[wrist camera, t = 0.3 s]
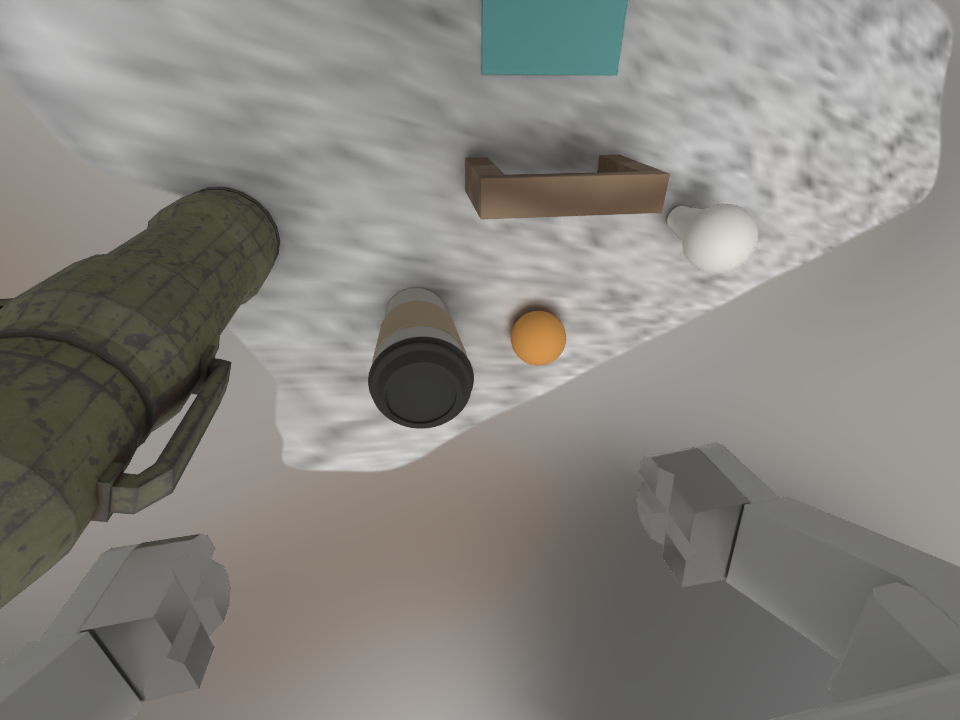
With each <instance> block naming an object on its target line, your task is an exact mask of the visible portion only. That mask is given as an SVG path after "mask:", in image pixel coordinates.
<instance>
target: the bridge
mask: <svg viewBox="0 0 960 720" xmlns="http://www.w3.org/2000/svg"><path fill="white" fill-rule="evenodd" d="M669 176H670V174H669V173H666V172H664V171H661V170H658V169H656V168H653V167H651V166H648V165H645V164H643V163H640V162H637V161H635V160H632V159H629V158H627V157H624V156H621V155H600V159H599V166H598V173H560V174H518V175H504V174H503V173H502V172H501V171H500V170H499V169H498V168H497V167H496V166H495V165H494V164H493V163H492V162H491V161H490V160H489V159H488V158H487V157H480V158H465V188H466V193H467V195H468V197H469V199H470V201H471V202H472V204H473V206H474V208H475V210H476V211H477V213H478V215H479V217H480V218H481V219H504V218H531V217H559V216H586V215H613V214H641V213H662V209H663V204H664V199H665V195H666V190H667V185H668V181H669Z"/></svg>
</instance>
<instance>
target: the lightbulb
mask: <svg viewBox="0 0 960 720" xmlns="http://www.w3.org/2000/svg"><path fill="white" fill-rule="evenodd" d="M667 223H668V226H669V228H671V229H672V230H673V231H674V232H675V233H676V235H677V236H678V237H679V238H680V239H682V244H683V250H684V254H685V256H686V258H687V259H688V260H689V262H690V263H691V264H692V265H693V266H694V267H696V268H697V269H699V270H701V271H704V272H708V273H724V272H728V271H731V270H734V269H736V268H738V267H739V266H741V265H742V264H743V263H745V262H746V261H747V260H748V259H749V258H750V256H751V255H752V254H753V252H754V250H755V248H756V245H757V242H758V227H757V223H756V222H755V220H754V218H753V217H752V215H751V214H750V213H749V212H748V211H746V210H745V209H743V208H741V207H739V206H737V205H733V204H718V205H713V206H710V207H707V208H705V209H703V210H702V209H698V208H689V207H686V206H678V207H676V208H674V209H673V210H672V211H671V212H670V214H669V216H668V219H667Z"/></svg>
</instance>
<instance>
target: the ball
mask: <svg viewBox="0 0 960 720" xmlns="http://www.w3.org/2000/svg"><path fill="white" fill-rule="evenodd" d="M511 343H512V347H513V350H514V352H515V353H516V355H517V356H518V357H519V358H520V359H521V360H523V361H524V362H526V363H528V364H531V365H546V364H549V363H551V362H553V361H554V360H556V359H557V358H558V357H559V356H560V354H561V353H562V352H563V350H564V347H565V344H566V333H565V329H564V327H563V324H562V323H561V322H560V320H559V319H558V318H557V317H555V316H554V315H552V314H551V313H548V312H545V311H532V312H529V313H527V314H525V315H523V316H522V317H521V318H519V320H518V321H517V322H516V323H515V325H514V327H513V329H512V333H511Z"/></svg>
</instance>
